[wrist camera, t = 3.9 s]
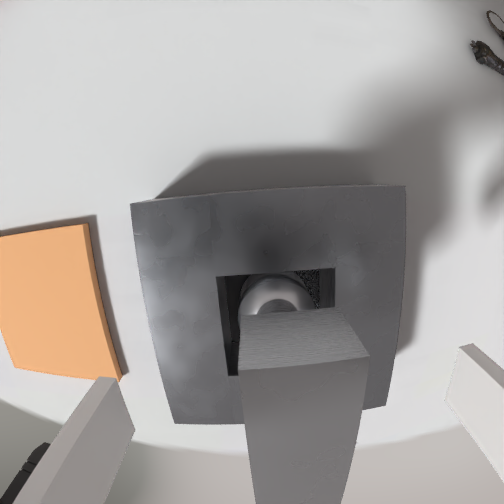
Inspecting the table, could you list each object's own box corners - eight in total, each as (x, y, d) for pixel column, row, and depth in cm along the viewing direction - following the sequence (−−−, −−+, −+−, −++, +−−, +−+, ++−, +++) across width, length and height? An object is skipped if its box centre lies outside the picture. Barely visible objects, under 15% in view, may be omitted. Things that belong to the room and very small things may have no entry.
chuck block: (153, 198, 18) (130, 203, 15) (376, 184, 18) (405, 186, 14) (184, 388, 22) (174, 423, 18) (368, 374, 21) (385, 405, 17)
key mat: (-16, 239, 19) (-22, 241, 18) (88, 222, 19) (82, 224, 18) (19, 363, 22) (14, 367, 21) (122, 376, 21) (119, 382, 21)
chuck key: (235, 248, 19) (206, 371, 6) (306, 243, 19) (396, 351, 6) (244, 348, 21) (238, 515, 8) (307, 343, 21) (358, 501, 8)
